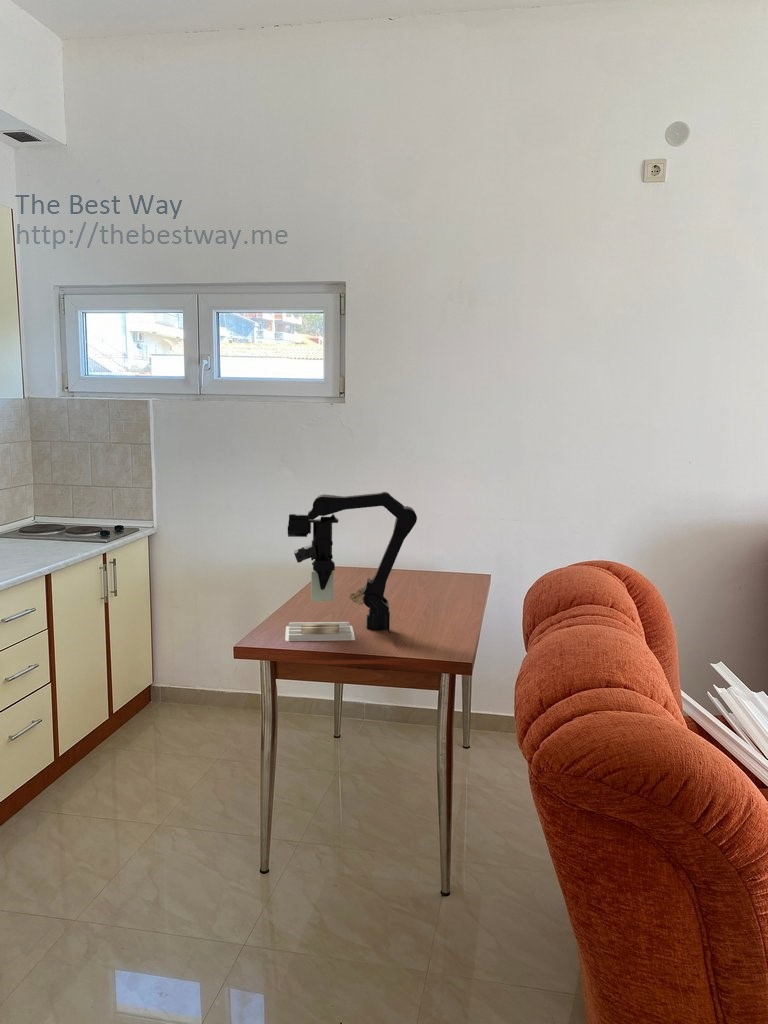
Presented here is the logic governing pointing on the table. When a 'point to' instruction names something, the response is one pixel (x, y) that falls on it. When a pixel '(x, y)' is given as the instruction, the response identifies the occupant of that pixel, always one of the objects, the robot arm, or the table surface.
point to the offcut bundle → (320, 629)
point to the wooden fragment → (357, 596)
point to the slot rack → (295, 634)
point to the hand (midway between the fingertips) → (322, 588)
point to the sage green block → (316, 590)
